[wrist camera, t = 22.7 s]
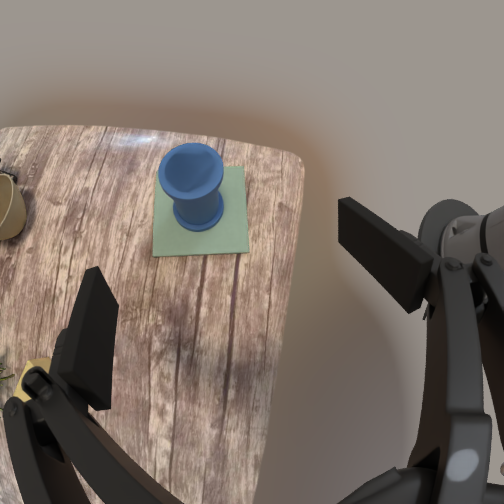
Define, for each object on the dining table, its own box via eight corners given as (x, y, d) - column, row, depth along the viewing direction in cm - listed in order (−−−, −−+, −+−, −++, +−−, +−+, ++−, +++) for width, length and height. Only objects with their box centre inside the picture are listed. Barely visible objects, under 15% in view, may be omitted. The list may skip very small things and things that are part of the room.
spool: (223, 184, 37) (222, 141, 27) (224, 230, 36) (224, 197, 26) (174, 187, 36) (160, 144, 27) (173, 233, 35) (155, 201, 25)
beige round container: (47, 213, 35) (21, 194, 28) (12, 263, 32) (-16, 253, 25) (22, 181, 35) (0, 162, 28) (-9, 227, 33) (-34, 213, 26)
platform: (48, 356, 30) (28, 359, 25) (88, 395, 30) (71, 404, 25) (30, 394, 28) (11, 400, 23) (68, 432, 28) (51, 442, 23)
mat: (243, 168, 39) (243, 166, 38) (249, 253, 36) (249, 251, 35) (157, 172, 37) (156, 170, 37) (153, 257, 35) (152, 256, 34)
